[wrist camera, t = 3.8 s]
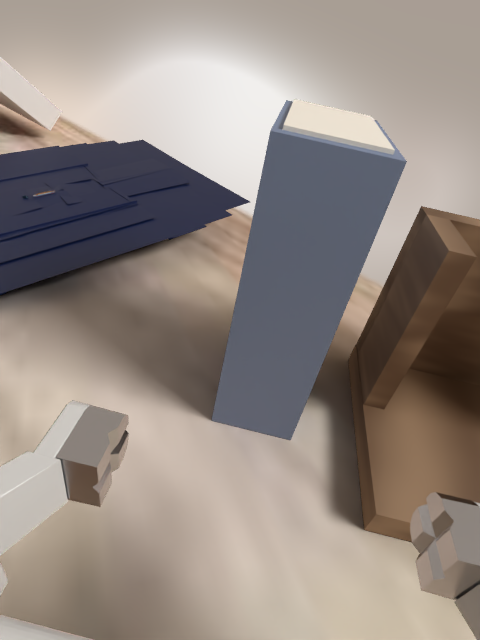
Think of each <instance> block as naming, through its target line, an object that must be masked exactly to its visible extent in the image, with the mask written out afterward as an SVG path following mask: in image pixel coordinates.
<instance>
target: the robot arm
mask: <svg viewBox="0 0 480 640" xmlns="http://www.w3.org/2000/svg"><path fill="white" fill-rule="evenodd" d="M128 423H129V422H128V415H126V414H122V413H118V412H115V411H111V410H107V409H103V408H100V407H96V406H92V405H89V404H85V403H81V402H77V401H73V400H72V401H71V402H69V403H68V404H67V405H66V406H65V408H64V409H63V410H62V412H61V413H60V415H59V416H58V418H57V419H56V421H55V422H54V423H53V425H52V426H51V428H50V429H49V431H48V432H47V433H46V435H45V436H44V438H43V439H42V441H41V442H40V443H39V445H38V446H37V448H36V449H35V451H34V452H30V451H27V452H25V453H23V454H22V455H20V456H18V457H16V458H14V459H13V460H11V461H9V462H7V463H5V464H4V465H2V466H0V556H1V555H2V554H3V553H4V552H6V551H7V550H8V549H9V548H11V547H12V546H13V545H14V544H16V543H17V542H18V541H19V540H21V539H22V538H23V537H24V536H26V535H27V534H28V533H29V532H31V531H32V530H33V529H34V528H36V527H37V526H38V525H39V524H41V523H42V522H43V521H45V520H46V519H47V518H48V517H50V516H51V515H52V514H53V513H55V512H56V511H57V510H58V509H60V508H61V507H62V506H63V505H65V504H66V503H67V502H68V500H72V501H76V502H80V503H85V504H89V505H94V506H98V507H101V505H102V503H103V500H104V498H105V496H106V494H107V492H108V490H109V488H110V486H111V484H112V475H111V473H112V472H113V471H115V470H116V469H118V468H119V467H120V464H121V462H122V460H123V458H124V455H125V452H126V448H127V444H128V434H129V433H128V432H127V431H126V430H125V429H126V427H127V425H128ZM426 501H427V504H426V505H423V506H419V507H418V508H417V509H416V510H415V511H414V513H413V515H412V519H411V523H410V533H411V539H412V543H413V545H414V546H415V548H416V549H417V550H418V552H419V553H420V554H419V556H418V558H417V560H416V566H417V572H418V577H419V582H420V587H421V590H422V591H425V592H428V593H432V594H435V595H439V596H442V597H446V598H449V599H453V600H456V601H455V604H456V606H457V607H458V609H459V611H460V612H461V614H462V616H463V617H464V619H465V621H466V622H467V624H468V626H469V627H470V629H471V630H472V632H473V634H474V635H475V637H476V639H477V640H480V503H477V502H473V501H472V500H467V499H463V498H459V497H455V496H450V495H446V494H442V493H437V492H434V493H430V494H429V495H428V497H427V498H426ZM7 583H8V578H7V574H6V572H5V570H4V568H3V566H2V564H1V562H0V595H1V594H2V592H3V590H4V588H5V586H6V585H7ZM0 640H94V639H90V638H86V637H82V636H79V635H75V634H71V633H68V632H64V631H60V630H56V629H53V628H49V627H45V626H42V625H38V624H34V623H30V622H27V621H23V620H19V619H16V618H12V617H8V616H5V615H1V614H0Z"/></svg>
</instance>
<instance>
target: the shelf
mask: <svg viewBox="0 0 480 640" xmlns="http://www.w3.org/2000/svg"><path fill="white" fill-rule="evenodd" d="M348 363H349V374H350V385H351V395H352V406H353V416H354V427H355V438H356V448H357V459H358V470H359V480H360V491H361V502H362V512H363V523H364V530H367V531H371V532H375V533H379V534H383V535H387V536H391V537H394V538H398V539H402V540H406V541H410V542H412V539H411V533H410V523H411V519H412V515H413V513H414V511H415V510H416V509H417V508H418V507H419V506H423V505H426V504H427V501H426V498H427V497H428V495H429V494H430V493H434V492H437V493H442V494H446V495H450V496H455V497H459V498H463V499H467V500H472V501H473V502H477V503H480V220H479V219H474V218H470V217H466V216H462V215H457V214H453V213H449V212H444V211H440V210H435V209H431V208H427V207H422V206H421V208H420V211H419V213H418V215H417V217H416V219H415V221H414V223H413V226H412V227H411V230H410V232H409V234H408V236H407V238H406V240H405V242H404V244H403V247H402V249H401V251H400V253H399V255H398V257H397V259H396V261H395V264H394V266H393V268H392V270H391V272H390V275H389V276H388V279H387V281H386V283H385V285H384V287H383V289H382V291H381V293H380V296H379V298H378V300H377V302H376V304H375V306H374V308H373V310H372V313H371V315H370V317H369V319H368V321H367V323H366V325H365V327H364V330H363V332H362V334H361V336H360V338H359V340H358V342H357V344H356V345H355V347H354V349H353V351H352V353H351V356H350V358H349V360H348Z"/></svg>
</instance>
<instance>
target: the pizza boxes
mask: <svg viewBox="0 0 480 640" xmlns="http://www.w3.org/2000/svg"><path fill="white" fill-rule="evenodd" d="M0 104H2V105H4V106H5V107H7V108H9V109H11V110H13V111H15V112H16V113H18V114H20V115H22V116H24V117H26V118H27V119H29V120H31V121H33V122H35V123H37V124H38V125H40V126H42V127H44V128H46V129H48V130H50V131H51V129H52V127H53V126H54V124H55V123H56V121H57V119H58V118H59V116H60V115H61V113H62V111H61V110H60V109H59V108H58V107H57V106H55V104H53V103H52V102H51V101H50V100H49V99H48V98H47V97H46V96H44V95H43V94H42V93H41V92H40V91H39V90H38V89H36V88H35V87H34V86H33V85H32V84H31V83H30V82H28V81H27V80H26V79H25V78H24V77H23V76H22V75H21V74H19V73H18V72H17V71H16V70H15V69H14V68H12V67H11V66H10V65H9V64H8V63H7V62H6V61H5V60H4V59H2V58H1V57H0Z"/></svg>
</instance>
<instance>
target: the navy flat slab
mask: <svg viewBox="0 0 480 640" xmlns="http://www.w3.org/2000/svg"><path fill="white" fill-rule="evenodd" d="M248 202H249V201H248V200H246V199H244V198H242V197H240V196H239V195H237V194H235V193H234V192H232V191H230V190H228V189H226V188H225V187H223V186H221V185H219V184H218V183H216V182H214V181H212V180H210V179H209V178H207V177H205V176H203V175H202V174H200V173H198V172H196V171H195V170H193V169H191V168H189V167H187V166H186V165H184V164H182V163H181V162H179V161H177V160H176V159H174V158H172V157H170V156H169V155H167V154H166V153H164V152H162V151H161V150H159V149H157V148H156V147H154V146H152V145H151V144H149V143H147V142H145V141H144V140H139V141H133V142H127V143H121V144H118V143H117V142H115V141H108V142H101V143H94V144H86V143H84V144H77V145H70V146H64V147H59V146H53V147H47V148H40V149H34V150H27V151H21V152H14V153H8V154H1V155H0V295H2V294H5V293H6V292H7V291H10V290H13V289H16V288H20V287H23V286H26V285H29V284H32V283H35V282H38V281H41V280H44V279H47V278H50V277H53V276H56V275H59V274H62V273H65V272H68V271H71V270H74V269H77V268H80V267H83V266H86V265H89V264H92V263H95V262H99V261H102V260H105V259H108V258H111V257H114V256H117V255H120V254H123V253H126V252H129V251H132V250H135V249H138V248H141V247H144V246H147V245H150V244H153V243H156V242H159V241H162V240H165V239H169V240H170V239H173V238H176V237H178V236H181V235H184V234H187V233H190V232H193V231H195V230H198V229H201V228H204V227H207V226H205V224H208V223H211V222H213V221H216V220H219V219H222V218H225V217H228V216H231V215H232V214H230V213H228V212H227V211H225V210H228V209H231V208H234V207H237V206H240V205H243V204H246V203H248Z"/></svg>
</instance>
